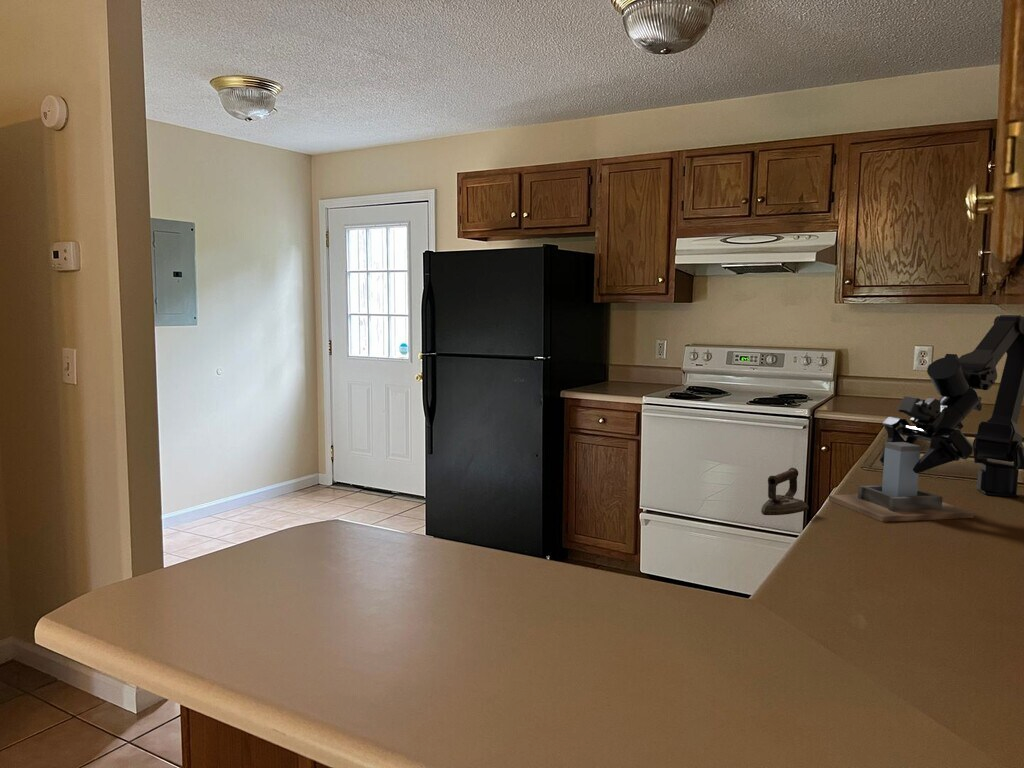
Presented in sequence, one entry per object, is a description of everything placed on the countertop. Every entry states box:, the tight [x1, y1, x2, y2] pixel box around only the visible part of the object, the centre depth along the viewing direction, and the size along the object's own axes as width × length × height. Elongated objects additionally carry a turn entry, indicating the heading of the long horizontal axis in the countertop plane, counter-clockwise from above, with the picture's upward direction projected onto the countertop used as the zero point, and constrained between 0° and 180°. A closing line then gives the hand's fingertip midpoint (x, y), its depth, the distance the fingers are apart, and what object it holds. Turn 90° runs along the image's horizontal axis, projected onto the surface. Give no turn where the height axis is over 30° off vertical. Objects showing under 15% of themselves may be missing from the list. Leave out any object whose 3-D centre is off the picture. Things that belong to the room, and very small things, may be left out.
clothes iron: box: [760, 467, 810, 516], centre depth 143 cm, size 7×11×10 cm, turn 133°
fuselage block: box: [881, 441, 921, 497], centre depth 146 cm, size 4×4×12 cm
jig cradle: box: [828, 484, 975, 523], centre depth 146 cm, size 20×16×4 cm
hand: (897, 466), depth 145 cm, fingers open, 9 cm apart
